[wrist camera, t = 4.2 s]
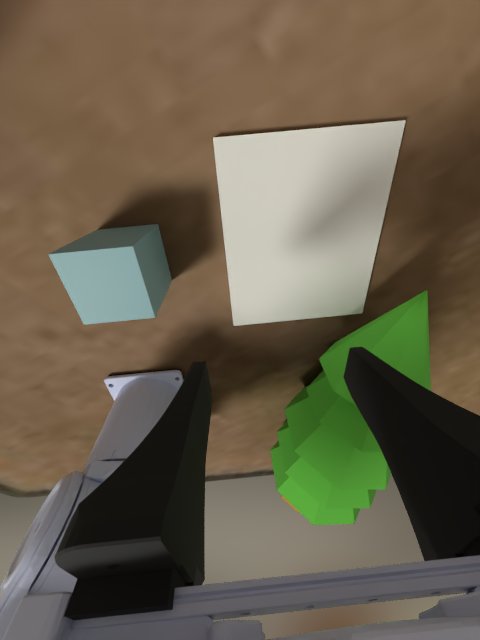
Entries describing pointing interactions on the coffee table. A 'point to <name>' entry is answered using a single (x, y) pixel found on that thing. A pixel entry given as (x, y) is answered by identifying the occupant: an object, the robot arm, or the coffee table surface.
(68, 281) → the teal block
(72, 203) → the coffee table surface
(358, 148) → the off-white tile
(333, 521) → the decorative tree
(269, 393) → the coffee table surface
